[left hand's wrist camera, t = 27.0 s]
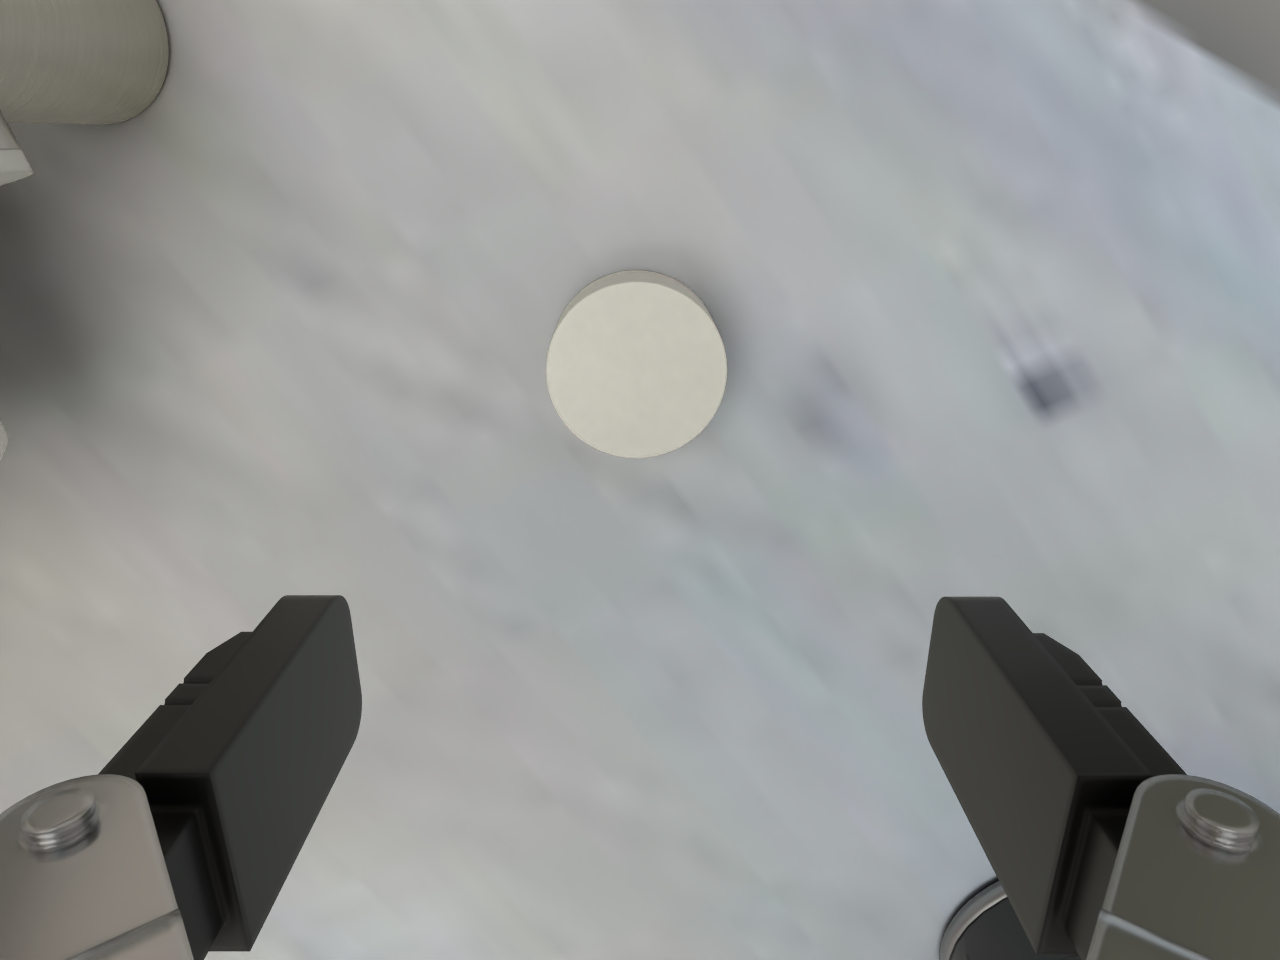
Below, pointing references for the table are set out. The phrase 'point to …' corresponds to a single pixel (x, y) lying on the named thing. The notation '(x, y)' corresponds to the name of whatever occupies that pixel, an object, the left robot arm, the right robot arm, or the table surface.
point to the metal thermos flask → (80, 60)
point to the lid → (636, 365)
